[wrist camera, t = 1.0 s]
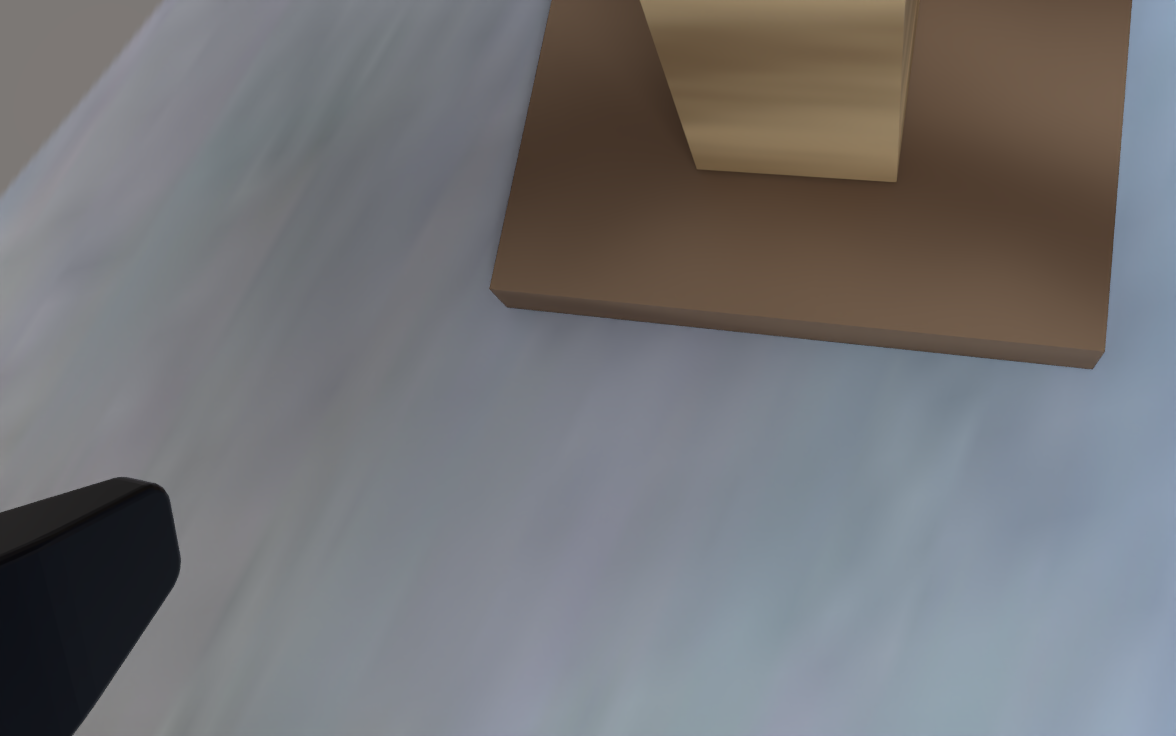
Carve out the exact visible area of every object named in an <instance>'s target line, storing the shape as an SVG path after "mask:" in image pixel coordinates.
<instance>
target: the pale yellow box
mask: <svg viewBox="0 0 1176 736" xmlns="http://www.w3.org/2000/svg"><path fill="white" fill-rule="evenodd" d="M640 2H641V5H642V8H643V11H644V14H645V17H646V20H647V23H648V26H649V29H650V32H651V35H652V38H653V41H654V44H655V47H656V50H657V53H658V56H659V59H660V62H661V65H662V67H663V70H664V73H665V76H666V79H667V82H668V85H669V88H670V91H671V94H672V97H673V100H674V103H675V106H676V109H677V112H678V115H679V118H680V121H681V124H682V127H683V130H684V133H685V135H686V138H687V141H688V144H689V147H690V150H691V153H692V156H693V159H694V162H695V165H696V168H697V169H701V170H716V171H731V172H747V173H762V174H777V175H793V176H808V177H823V178H838V179H854V180H869V181H884V182H897V175H898V167H899V159H900V151H901V144H902V136H903V128H904V120H905V112H906V105H907V97H908V89H909V81H910V73H911V66H912V58H913V50H914V42H915V34H916V27H917V19H918V11H919V3H920V0H640Z"/></svg>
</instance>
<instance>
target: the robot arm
mask: <svg viewBox="0 0 1176 736" xmlns="http://www.w3.org/2000/svg"><path fill="white" fill-rule="evenodd" d="M180 565H181V557H180V551H179V545H178V540H177V535H176V530H175V524H174V519H173V514H172V509H171V503H170V499H169V496H168V494H167V493H166V491H165V490H164V488H163V487H161V486H159V485H158V484H156V483H151V482H147V481H142V480H138V479H133V478H128V477H117V478H113V479H110V480H106V481H103V482H100V483H96V484H93V485H90V486H87V487H83V488H80V489H77V490H73V491H70V492H67V493H63V494H60V495H57V496H54V497H50V498H47V499H44V500H40V501H37V502H34V503H30V504H27V505H24V506H21V507H17V508H14V509H11V510H7V511H4V512H1V513H0V736H72V735H73V734H74V733H75V731H76V730H77V729H78V728H79V726H80V725H81V724H82V722H83V721H84V720H85V718H86V717H87V715H88V714H89V712H90V711H91V710H92V708H93V707H94V705H95V704H96V702H97V701H98V700H99V698H100V697H101V695H102V694H103V692H104V691H105V689H106V688H107V686H108V685H109V683H110V682H111V680H112V679H113V677H114V676H115V674H116V673H117V671H118V670H119V668H120V667H121V665H122V664H123V662H124V661H125V659H126V658H127V656H128V655H129V653H130V652H131V650H132V649H133V647H134V646H135V644H136V643H137V641H138V639H139V638H140V636H141V635H142V633H143V632H144V630H145V629H146V627H147V626H148V624H149V623H150V621H151V620H152V618H153V617H154V615H155V614H156V612H157V611H158V609H159V608H160V606H161V605H162V603H163V602H164V600H165V599H166V597H167V596H168V594H169V593H170V591H171V590H172V588H173V587H174V585H175V583H176V580H177V578H178V575H179V571H180Z"/></svg>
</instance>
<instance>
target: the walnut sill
mask: <svg viewBox="0 0 1176 736" xmlns="http://www.w3.org/2000/svg"><path fill="white" fill-rule="evenodd" d="M1131 8H1132V0H920V3H919V11H918V19H917V27H916V34H915V42H914V50H913V58H912V66H911V73H910V81H909V89H908V97H907V105H906V112H905V120H904V128H903V136H902V144H901V151H900V159H899V167H898V175H897V182H884V181H869V180H854V179H838V178H823V177H808V176H793V175H777V174H762V173H747V172H731V171H716V170H701V169H697V168H696V165H695V162H694V159H693V156H692V153H691V150H690V147H689V144H688V141H687V138H686V135H685V133H684V130H683V127H682V124H681V121H680V118H679V115H678V112H677V109H676V106H675V103H674V100H673V97H672V94H671V91H670V88H669V85H668V82H667V79H666V76H665V73H664V70H663V67H662V65H661V62H660V59H659V56H658V53H657V50H656V47H655V44H654V41H653V38H652V35H651V32H650V29H649V26H648V23H647V20H646V17H645V14H644V11H643V8H642V5H641V2H640V0H552V1H551V6H550V10H549V15H548V20H547V24H546V29H545V34H544V38H543V43H542V47H541V52H540V57H539V61H538V66H537V71H536V75H535V80H534V84H533V89H532V94H531V98H530V103H529V108H528V112H527V117H526V122H525V126H524V131H523V135H522V140H521V145H520V149H519V154H518V159H517V163H516V168H515V172H514V177H513V182H512V186H511V191H510V196H509V200H508V205H507V209H506V214H505V219H504V223H503V228H502V233H501V237H500V242H499V247H498V251H497V256H496V260H495V265H494V270H493V274H492V279H491V284H490V288H489V289H490V290H491V291H492V292H493V293H494V294H495V295H496V296H497V297H498V299H499V300H500V301H501V302H502V303H503V304H504V305H505V306H506V307H509V308H518V309H528V310H537V311H547V312H556V313H566V314H575V315H584V316H594V317H603V318H613V319H622V320H632V321H641V322H650V323H660V324H669V325H679V326H688V327H698V328H707V329H717V330H726V331H735V332H745V333H754V334H764V335H773V336H783V337H792V338H801V339H811V340H820V341H830V342H839V343H849V344H858V345H867V346H877V347H886V348H896V349H905V350H915V351H924V352H933V353H943V354H952V355H962V356H971V357H981V358H990V359H999V360H1009V361H1018V362H1028V363H1037V364H1047V365H1056V366H1066V367H1075V368H1084V369H1093V368H1094V366H1095V365H1096V364H1097V362H1098V361H1099V359H1100V358H1101V356H1102V355H1103V353H1104V352H1105V342H1106V330H1107V317H1108V304H1109V291H1110V278H1111V265H1112V252H1113V240H1114V227H1115V214H1116V201H1117V188H1118V175H1119V162H1120V150H1121V137H1122V124H1123V111H1124V98H1125V85H1126V72H1127V60H1128V47H1129V34H1130V21H1131Z"/></svg>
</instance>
